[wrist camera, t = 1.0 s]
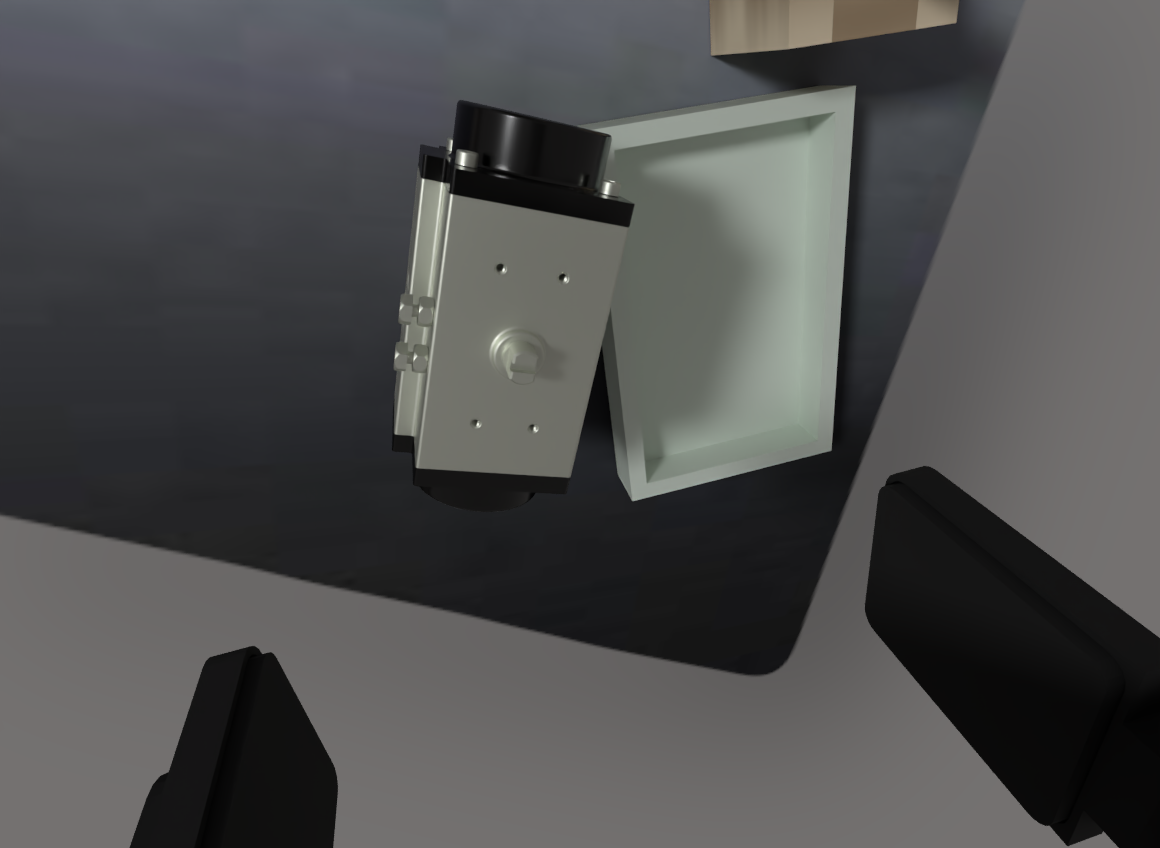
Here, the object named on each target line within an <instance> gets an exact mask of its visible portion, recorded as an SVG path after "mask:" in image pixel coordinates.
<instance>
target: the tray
mask: <svg viewBox="0 0 1160 848" xmlns="http://www.w3.org/2000/svg"><path fill="white" fill-rule="evenodd" d="M855 91H856V86H837V85H819V86H813V87H807V88H801V89H795V90H789V91H783V92H777V93H771V94H765V95H759V96H753V97H747V98H741V99H735V100H729V101H723V102H717V103H711V104H705V105H699V106H693V107H687V108H681V109H675V110H669V111H663V112H657V113H651V114H645V115H638V116H632V117H626V118H620V119H614V120H608V121H602V122H596V123H590V124H584V125H578V126H577V127H581V128H585V129H589V130H594V131H598V132H602V133H606V134H609V135H611V136H612V142H611V146H610V151H609V156H608V160H607V165H606V170H605V174H604V179H605V180H611V181H615V182H618V183H620V184H621V188H620V192H619V196H621V197H623V198H625V199H626V200H628V201H630V202H632V203H634V204H635V206H634V210H633V214H632V219H631V223H630V227H629V231H628V236H627V240H626V244H625V248H624V252H623V257H622V261H621V265H620V269H619V274H618V278H617V282H616V286H615V290H614V295H613V299H612V303H611V307H610V312H609V316H608V320H607V324H606V329H605V333H604V337H603V341H602V350H603V358H604V366H605V375H606V383H607V391H608V399H609V407H610V415H611V423H612V432H613V440H614V448H615V456H616V464H617V472H618V476H619V478H620V480H621V481H622V483H623V485H624V487H625V489H626V490H627V492H628V494H629V496H630V498H631V500H632V501H636V500H639V499H643V498H647V497H651V496H655V495H659V494H663V493H667V492H671V491H675V490H679V489H683V488H687V487H691V486H694V485H698V484H702V483H706V482H710V481H714V480H718V479H722V478H726V477H730V476H734V475H738V474H742V473H745V472H749V471H753V470H757V469H761V468H765V467H769V466H773V465H777V464H781V463H785V462H789V461H793V460H797V459H800V458H804V457H808V456H812V455H816V454H820V453H824V452H828V451H832V436H833V421H834V406H835V391H836V376H837V361H838V346H839V331H840V316H841V301H842V286H843V271H844V256H845V241H846V226H847V211H848V196H849V181H850V166H851V151H852V136H853V121H854V106H855Z"/></svg>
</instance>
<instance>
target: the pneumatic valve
mask: <svg viewBox="0 0 1160 848" xmlns="http://www.w3.org/2000/svg"><path fill="white" fill-rule="evenodd" d="M611 142H612V136H611V135H609V134H606V133H602V132H598V131H594V130H589V129H585V128H581V127H577V126H573V125H568V124H564V123H560V122H556V121H551V120H547V119H543V118H539V117H534V116H530V115H526V114H521V113H517V112H513V111H508V110H504V109H500V108H495V107H491V106H487V105H482V104H478V103H473V102H469V101H464V100H459V101H458V103H457V109H456V117H455V126H454V134H453V138H448V139H447V145H446V147H444V146H439V148H436V147H431V146H426V145H420V154H419V163H418V173H417V183H416V192H415V202H414V212H413V221H412V231H411V241H410V251H409V260H408V270H407V280H406V289H405V294H401V298H400V308H399V323H400V324H402V328H401V338H400V342H397V343H396V348H395V358H394V370H396V371H397V377H396V386H395V396H394V406H393V433H392V450H393V451H395V452H409V453H412V465H413V485H414V486H419V487H420V488H421V489H422V490H423V491H424V492H425V493H426V494H427V495H429V496H430V497H432V498H434V499H436V500H437V501H439V502H442V503H444V504H446V505H450V506H453V507H456V508H460V509H465V510H470V511H479V512H496V511H504V510H509V509H513V508H516V507H519V506H521V505H523V504H525V503H526V502H528V501H529V500H530V499H531V498H532V497H533V496H534V494H535V493H552V494H566V493H567V489H568V485H569V481H570V477H571V472H572V468H573V464H574V460H575V455H576V451H577V447H578V443H579V439H580V434H581V430H582V426H583V422H584V417H585V413H586V409H587V405H588V400H589V396H590V392H591V388H592V384H593V379H594V375H595V371H596V367H597V362H598V358H599V354H600V350H601V345H602V341H603V337H604V333H605V329H606V324H607V320H608V316H609V312H610V307H611V303H612V299H613V295H614V290H615V286H616V282H617V278H618V274H619V269H620V265H621V261H622V257H623V252H624V248H625V244H626V240H627V236H628V231H629V227H630V223H631V219H632V214H633V210H634V206H635V204H634V203H632V202H630V201H628V200H626V199H625V198H623V197H621V196H619V192H620V188H621V184H620V183H618V182H615V181H611V180H605V179H604V174H605V170H606V165H607V160H608V156H609V151H610V146H611Z"/></svg>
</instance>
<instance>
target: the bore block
mask: <svg viewBox="0 0 1160 848" xmlns="http://www.w3.org/2000/svg"><path fill="white" fill-rule="evenodd" d="M958 6H959V0H710V31H711V56H713V55H725V54H737V53H749V52H761V51H773V50H785V49H793V48H800V47H806V46H812V45H819V44H825V43H832V42H838V41H844V40H851V39H857V38H864V37H870V36H876V35H883V34H889V33H896V32H902V31H908V30H915V29H921V28H928V27H934V26H941V25H947V24H953V23H956V21H957V13H958Z"/></svg>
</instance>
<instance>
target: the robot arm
mask: <svg viewBox="0 0 1160 848" xmlns="http://www.w3.org/2000/svg"><path fill="white" fill-rule="evenodd" d="M865 612H866V616H867V619H868V622H869V623H870V625H871V627H872V628H873V629H874V631H875V632H876V634H878V636H879V637H880V638H881V639H882V641H883V642H884V643H885V644H886V645H887V647H888V648H889V649H890V650H891V651H892V652H893V654H894V655H895V656H896V657H897V658H898V660H899V661H900V662H901V663H902V664H903V666H904V667H906V669H907V670H908V671H909V672H910V674H911V675H912V676H913V677H914V679H915V680H916V681H917V682H918V683H919V684H920V686H921V687H922V688H923V689H924V690H925V692H926V693H927V694H928V695H929V696H930V697H931V699H932V700H933V701H934V702H935V704H936V705H937V706H938V707H939V708H940V709H941V710H942V712H943V713H944V714H945V715H946V717H947V718H948V719H949V720H950V721H951V722H952V724H953V725H954V726H955V727H956V728H957V730H958V731H959V732H960V733H961V734H962V736H963V737H964V738H965V739H966V740H967V741H968V743H969V744H970V745H971V746H972V747H973V749H974V750H975V751H976V752H977V753H978V754H979V756H980V757H981V758H982V759H983V760H984V762H985V763H986V764H987V765H988V766H989V767H990V769H991V770H992V771H993V772H994V773H995V774H996V776H997V777H998V778H999V779H1000V781H1001V782H1002V783H1003V784H1004V785H1005V786H1006V788H1007V789H1008V790H1009V791H1010V792H1011V794H1012V795H1013V796H1014V797H1015V798H1016V799H1017V801H1018V802H1019V803H1020V804H1021V805H1022V807H1023V808H1024V809H1025V810H1026V811H1027V812H1028V814H1029V815H1030V816H1031V817H1032V818H1033V819H1034V820H1036V821H1037V822H1038V823H1040V824H1043V825H1045V826H1050V827H1051V828H1052V829H1053V830H1054V831H1055V833H1056V834H1057V835H1058V836H1059V837H1060V838H1061V840H1062V841H1064V843H1065V844H1066V845H1067V846H1070V845H1072V844H1075V843H1078V842H1080V841H1083V840H1085V839H1088V838H1091V837H1094V836H1096V835H1099V834H1102V832H1103V831H1104V832H1105V833H1106V834H1107V835H1108V837H1110V839H1111V840H1112V841H1113V842H1114V843H1115V844H1116V845H1117V846H1118V847H1119V848H1160V638H1159V637H1158V636H1156V635H1155V634H1153V633H1152V632H1151V631H1150V630H1148V629H1147V628H1145V627H1144V626H1143V625H1142V624H1140V623H1139V622H1137V621H1136V620H1135V619H1133V618H1132V617H1131V616H1129V615H1128V614H1127V613H1125V612H1124V611H1123V610H1121V609H1120V608H1119V607H1118V606H1116V605H1115V604H1113V603H1112V602H1111V601H1110V600H1108V599H1107V598H1106V597H1104V596H1103V595H1102V594H1100V593H1099V592H1098V591H1096V590H1095V589H1094V588H1092V587H1091V586H1090V585H1088V584H1087V583H1086V582H1084V581H1083V580H1082V579H1080V578H1079V577H1077V576H1076V575H1075V574H1074V573H1072V572H1071V571H1070V570H1068V569H1067V568H1066V567H1064V566H1063V565H1062V564H1060V563H1059V562H1058V561H1056V560H1055V559H1054V558H1052V557H1051V556H1050V555H1048V554H1047V553H1046V552H1044V551H1043V550H1042V549H1040V548H1039V547H1038V546H1036V545H1035V544H1034V543H1032V542H1031V541H1030V540H1028V539H1027V538H1026V537H1024V536H1023V535H1022V534H1020V533H1019V532H1018V531H1016V530H1015V529H1014V528H1012V527H1011V526H1010V525H1008V524H1007V523H1006V522H1004V521H1003V520H1002V519H1000V518H999V517H997V516H996V515H995V514H994V513H992V512H991V511H990V510H988V509H987V508H986V507H984V506H983V505H982V504H980V503H979V502H977V501H976V500H975V499H974V498H972V497H971V496H970V495H968V494H967V493H966V492H964V491H963V490H961V489H960V488H959V487H958V486H956V485H955V484H953V483H952V482H951V481H950V480H948V479H947V478H946V477H944V476H943V475H942V474H940V473H939V472H938V471H936V470H935V469H933V468H931V467H927V466H923V467H919V468H915V469H911V470H908V471H904V472H900V473H896V474H893V475H891V476H889V478H888V479H887V481H886V485H885V486H884V487H882V488H881V489H880V491H879V494H878V503H877V511H876V519H875V528H874V535H873V544H872V552H871V560H870V569H869V577H868V585H867V593H866V602H865ZM337 784H338V783H337V775H336V771H335V767H334V765H333V763H332V761H331V759H330V757H329V755H328V754H327V752H326V750H325V748H324V746H323V744H322V742H321V740H320V739H319V737H318V735H317V733H316V731H315V729H314V727H313V725H312V724H311V722H310V720H309V718H308V716H307V714H306V712H305V710H304V709H303V707H302V705H301V703H300V701H299V699H298V697H297V695H296V694H295V692H294V690H293V688H292V686H291V684H290V683H289V681H288V679H287V677H286V675H285V673H284V671H283V669H282V667H281V665H280V664H279V662H278V660H277V658H276V657H275V655H274V654H273V653H271V652H270V653H266V654H262V653H261V652H260V650H259V649H258V648H257V647H255V646H251V647H247V648H243V649H239V650H235V651H232V652H228V653H224V654H221V655H217V656H213V657H210V658H209V659H208V660H207V661H206V662H205V664H204V666H203V669H202V672H201V675H200V678H199V681H198V684H197V687H196V691H195V693H194V696H193V699H192V702H191V706H190V709H189V712H188V715H187V718H186V721H185V724H184V727H183V730H182V733H181V736H180V739H179V742H178V745H177V748H176V751H175V754H174V758H173V761H172V764H171V767H170V770H169V772H168V773H166V774H164V775H161V776H160V777H159V778H158V779H157V781H156V782H155V783H154V784H153V786H152V788H151V790H150V792H149V794H148V797H147V799H146V802H145V805H144V808H143V810H142V813H141V816H140V819H139V822H138V825H137V828H136V831H135V833H134V836H133V839H132V842H131V845H130V848H333V841H334V830H335V819H336V807H337V806H336V805H337V795H338V785H337Z"/></svg>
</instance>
